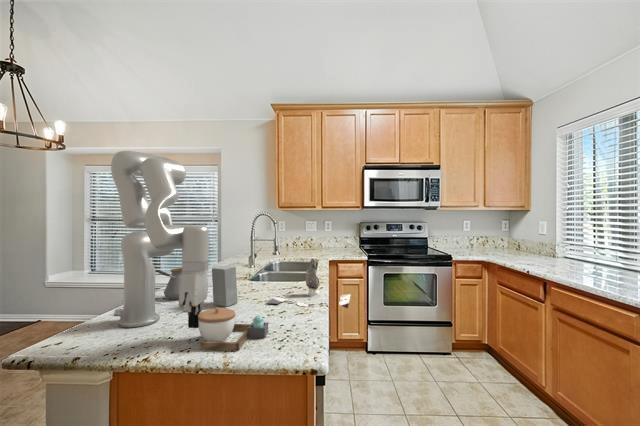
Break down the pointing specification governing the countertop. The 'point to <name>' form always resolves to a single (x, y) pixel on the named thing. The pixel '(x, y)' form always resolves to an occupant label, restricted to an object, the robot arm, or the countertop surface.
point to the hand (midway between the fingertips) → (194, 326)
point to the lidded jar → (216, 324)
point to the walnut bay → (228, 345)
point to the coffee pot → (173, 284)
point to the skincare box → (224, 286)
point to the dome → (258, 321)
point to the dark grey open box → (257, 331)
